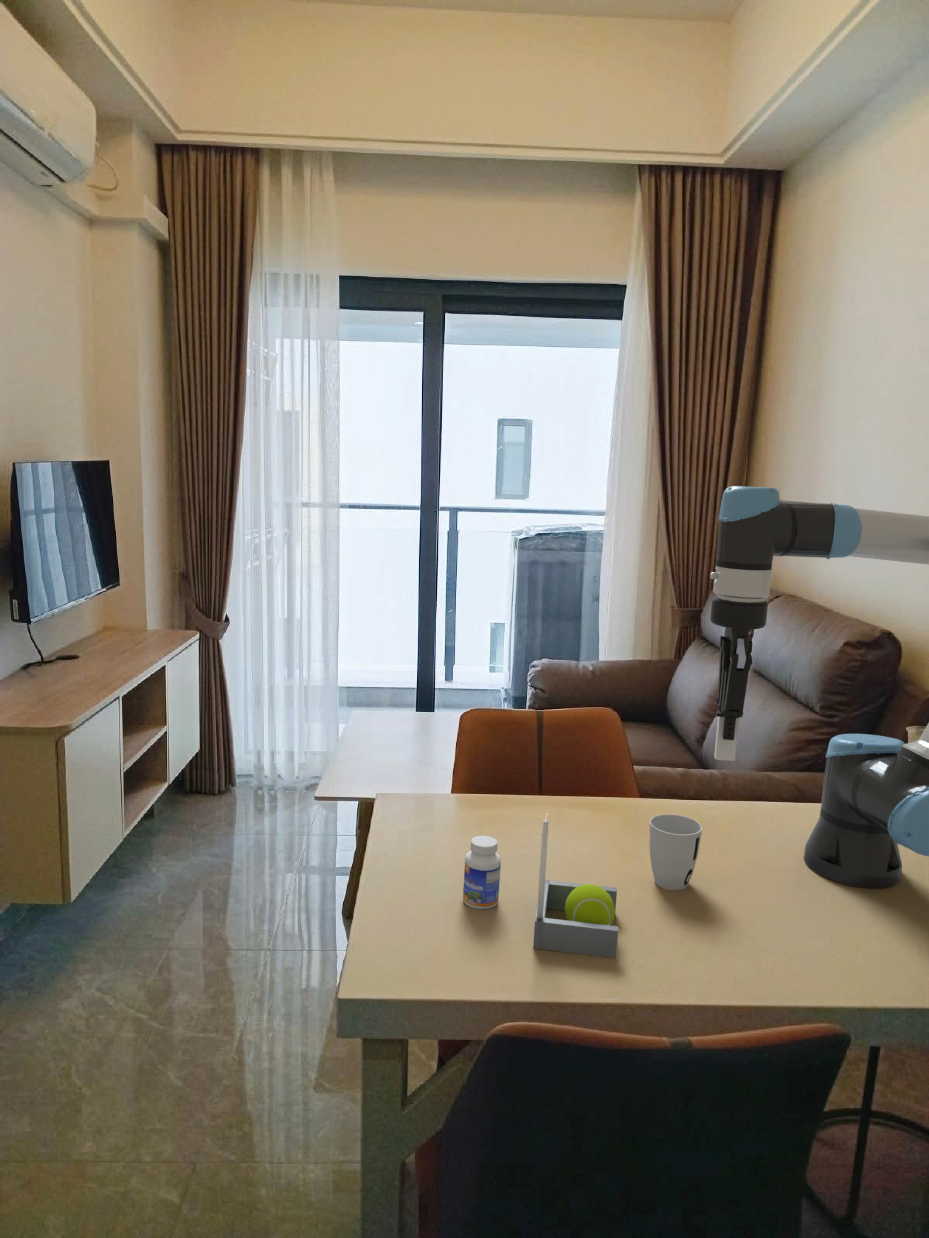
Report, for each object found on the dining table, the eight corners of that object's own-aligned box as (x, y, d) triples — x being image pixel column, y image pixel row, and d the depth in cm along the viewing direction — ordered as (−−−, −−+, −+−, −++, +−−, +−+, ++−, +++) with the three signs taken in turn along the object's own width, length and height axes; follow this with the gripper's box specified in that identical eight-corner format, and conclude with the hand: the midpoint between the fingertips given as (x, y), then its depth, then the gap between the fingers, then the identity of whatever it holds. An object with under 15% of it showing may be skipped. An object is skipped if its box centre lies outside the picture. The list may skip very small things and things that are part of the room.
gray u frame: (614, 912, 129) (623, 798, 126) (616, 958, 117) (625, 832, 114) (539, 904, 131) (546, 790, 128) (533, 948, 119) (540, 824, 116)
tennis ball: (616, 947, 120) (619, 900, 119) (565, 944, 120) (568, 897, 119) (609, 921, 127) (613, 876, 126) (561, 918, 127) (564, 874, 126)
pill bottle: (455, 900, 131) (457, 839, 129) (480, 889, 135) (483, 830, 133) (481, 914, 127) (484, 852, 126) (506, 902, 131) (509, 841, 129)
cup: (698, 898, 135) (703, 837, 133) (644, 891, 136) (649, 831, 135) (695, 874, 143) (700, 817, 141) (644, 868, 144) (649, 811, 142)
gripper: (707, 589, 128) (693, 742, 133) (718, 602, 116) (702, 771, 120) (759, 592, 127) (744, 747, 132) (777, 606, 115) (759, 776, 119)
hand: (724, 758), depth 126 cm, fingers closed
